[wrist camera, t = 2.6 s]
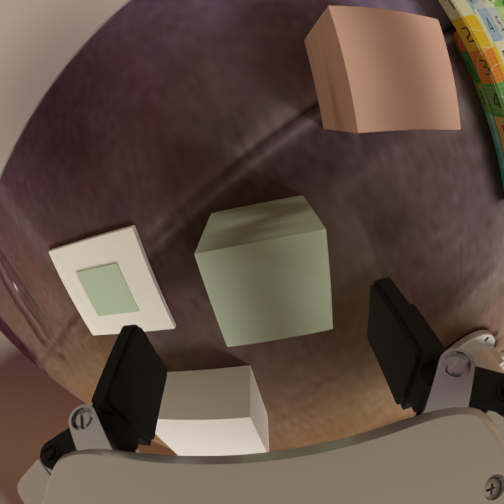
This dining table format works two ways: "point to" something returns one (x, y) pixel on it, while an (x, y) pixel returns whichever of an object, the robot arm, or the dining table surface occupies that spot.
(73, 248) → the card
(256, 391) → the base block
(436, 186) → the dining table surface
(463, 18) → the puzzle game
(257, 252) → the sage cube
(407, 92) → the terracotta cube
